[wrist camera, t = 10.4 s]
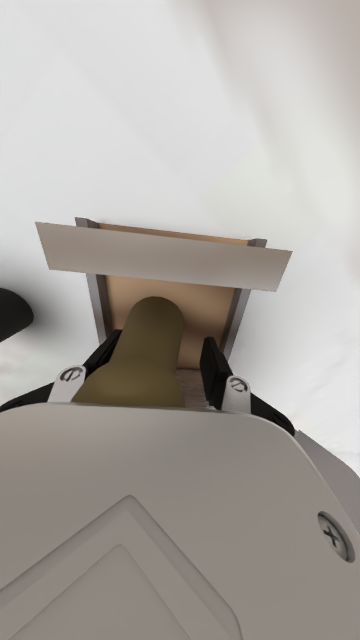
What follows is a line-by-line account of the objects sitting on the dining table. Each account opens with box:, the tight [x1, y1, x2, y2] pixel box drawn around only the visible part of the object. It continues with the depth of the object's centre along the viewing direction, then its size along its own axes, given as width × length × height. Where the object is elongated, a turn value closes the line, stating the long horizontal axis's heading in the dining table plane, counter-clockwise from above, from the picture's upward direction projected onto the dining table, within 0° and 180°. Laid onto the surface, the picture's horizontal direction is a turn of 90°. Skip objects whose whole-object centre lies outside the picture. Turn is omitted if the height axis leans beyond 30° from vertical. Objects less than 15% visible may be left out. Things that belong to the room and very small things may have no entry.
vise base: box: [35, 217, 292, 370], centre depth 13 cm, size 18×14×7 cm
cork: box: [70, 296, 185, 408], centre depth 10 cm, size 6×6×11 cm
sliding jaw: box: [175, 369, 216, 410], centre depth 15 cm, size 2×12×6 cm, turn 84°
